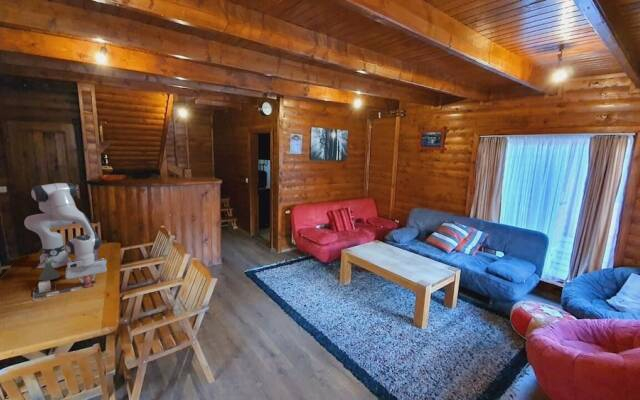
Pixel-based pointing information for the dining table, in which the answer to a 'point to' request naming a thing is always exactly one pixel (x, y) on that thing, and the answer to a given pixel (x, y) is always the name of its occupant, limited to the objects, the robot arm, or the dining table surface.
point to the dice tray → (36, 292)
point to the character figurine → (48, 270)
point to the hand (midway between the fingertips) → (87, 281)
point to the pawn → (87, 281)
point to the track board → (57, 292)
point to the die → (44, 286)
